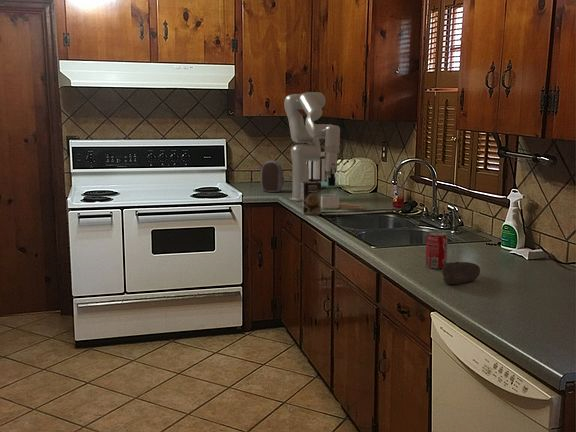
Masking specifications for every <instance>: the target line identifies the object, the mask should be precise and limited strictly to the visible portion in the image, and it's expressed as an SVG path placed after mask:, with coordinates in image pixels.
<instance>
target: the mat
mask: <svg viewBox="0 0 576 432" xmlns="http://www.w3.org/2000/svg"><path fill="white" fill-rule="evenodd" d="M339 209H341V210H342V209H365V208H364V207H363V206H362V205H360V204H359V203H358V202H356V203H355V202H354V203H351V202H350V203H349V202H348V203H345V202H344V203H343V202H342V203H340V202H339Z"/></svg>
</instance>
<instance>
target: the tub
mask: <svg viewBox="0 0 576 432" xmlns="http://www.w3.org/2000/svg"><path fill="white" fill-rule="evenodd" d="M339 203H340V197H339V196H338V195H337V194H336V193H321V209H322V210H332V209H333V210H335V209H336V210H337V208H339V209H340V207H339Z"/></svg>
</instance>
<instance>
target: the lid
mask: <svg viewBox="0 0 576 432" xmlns="http://www.w3.org/2000/svg"><path fill="white" fill-rule="evenodd" d="M336 178H337V177H336V175H335V185H329V176H328V175H326V181H324V182H320V183H321V187H322V188H328V189H336V188H340V184H339V183H338V182H336V180H337V179H336Z"/></svg>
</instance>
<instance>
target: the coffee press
mask: <svg viewBox="0 0 576 432" xmlns="http://www.w3.org/2000/svg"><path fill="white" fill-rule="evenodd" d="M320 149H321V156H320V158H319V159H318V160H316V161H305V162H306V164H307V166H308V168H309V182H325V176H326V175H325V174H326V173H325V171H326V170H325V162H326V153H325V146H322V145H320ZM323 188H324V187H321V190H323Z"/></svg>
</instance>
